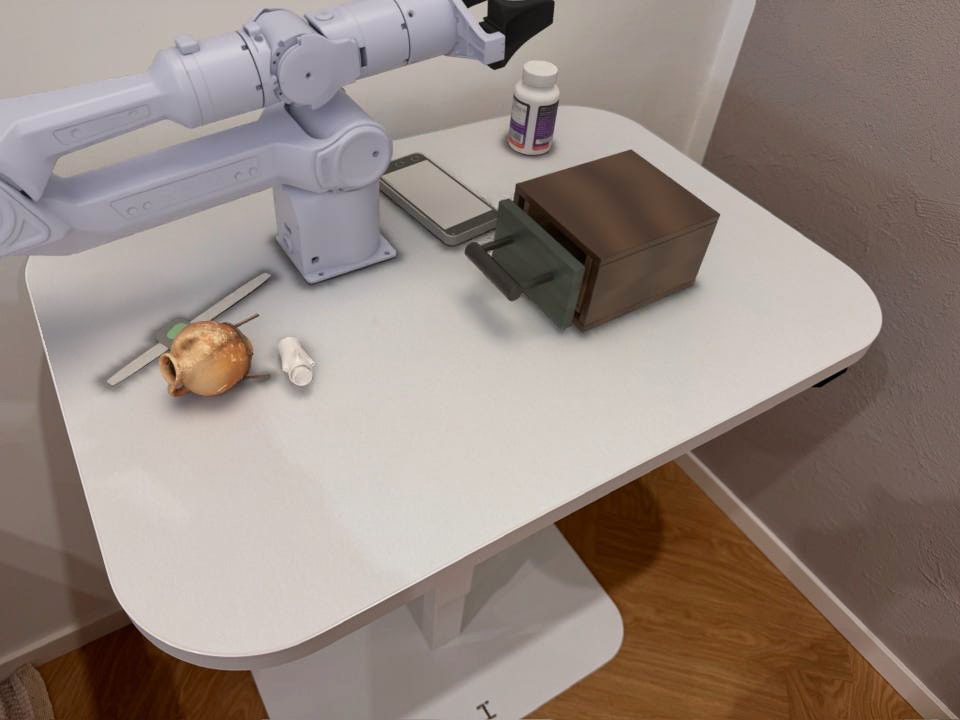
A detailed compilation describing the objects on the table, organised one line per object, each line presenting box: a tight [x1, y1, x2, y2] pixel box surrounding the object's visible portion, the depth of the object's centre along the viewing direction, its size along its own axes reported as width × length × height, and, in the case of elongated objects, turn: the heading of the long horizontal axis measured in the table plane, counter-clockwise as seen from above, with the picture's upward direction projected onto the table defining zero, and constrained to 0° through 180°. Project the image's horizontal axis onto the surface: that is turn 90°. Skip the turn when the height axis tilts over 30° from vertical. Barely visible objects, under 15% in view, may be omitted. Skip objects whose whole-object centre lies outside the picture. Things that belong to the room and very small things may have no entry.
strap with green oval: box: [106, 272, 271, 386], centre depth 65 cm, size 18×1×3 cm
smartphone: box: [379, 151, 498, 246], centre depth 81 cm, size 7×1×15 cm
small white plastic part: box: [277, 336, 316, 387], centre depth 61 cm, size 4×6×3 cm, turn 179°
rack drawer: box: [463, 197, 594, 330], centre depth 70 cm, size 18×11×7 cm, turn 124°
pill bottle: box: [507, 59, 561, 156], centre depth 88 cm, size 5×5×10 cm
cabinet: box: [512, 149, 721, 333], centre depth 72 cm, size 15×13×9 cm
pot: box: [158, 312, 272, 398], centre depth 59 cm, size 6×8×6 cm
